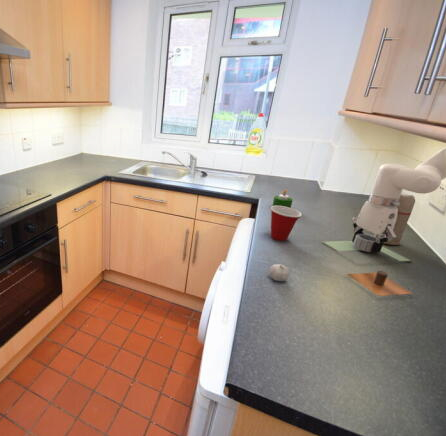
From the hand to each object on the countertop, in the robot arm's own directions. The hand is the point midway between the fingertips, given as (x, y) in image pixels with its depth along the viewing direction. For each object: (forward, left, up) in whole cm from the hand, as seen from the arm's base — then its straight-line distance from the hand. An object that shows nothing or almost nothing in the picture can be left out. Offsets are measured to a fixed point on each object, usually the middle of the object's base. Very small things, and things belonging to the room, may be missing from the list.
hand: (365, 246), depth 108 cm
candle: (+2, -46, -2) cm, 46 cm away
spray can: (-16, -7, -2) cm, 18 cm away
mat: (0, 0, -2) cm, 2 cm away
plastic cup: (+24, -13, -2) cm, 28 cm away
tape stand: (+15, +20, -2) cm, 25 cm away
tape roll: (0, 0, 0) cm, 0 cm away
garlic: (+43, +14, -2) cm, 45 cm away
